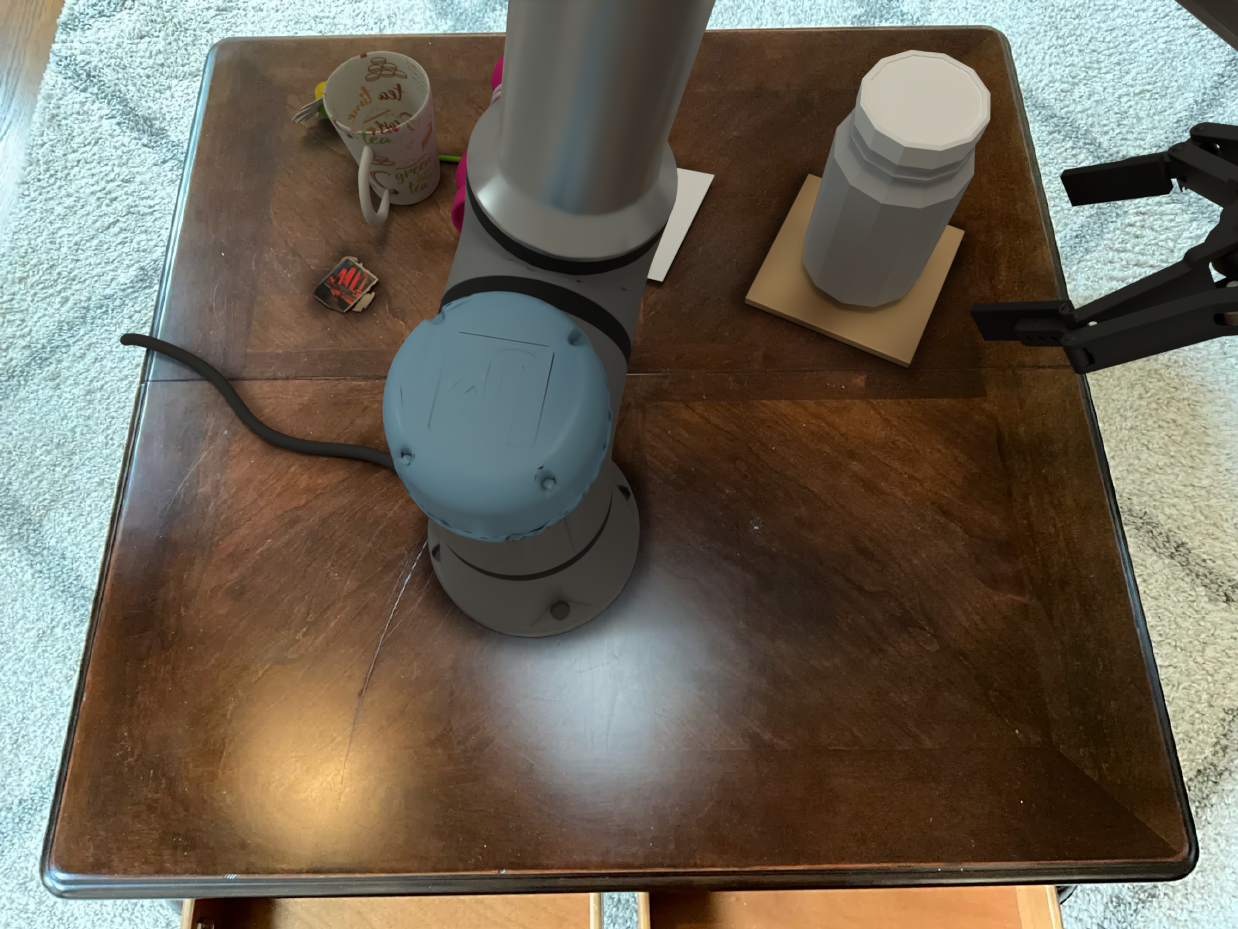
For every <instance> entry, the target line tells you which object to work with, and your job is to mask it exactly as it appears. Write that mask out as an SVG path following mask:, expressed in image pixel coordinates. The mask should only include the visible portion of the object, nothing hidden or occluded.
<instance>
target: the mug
mask: <svg viewBox="0 0 1238 929" xmlns="http://www.w3.org/2000/svg"><path fill="white" fill-rule="evenodd" d="M326 81H327V82H326V84H325V87H324V91H323V103H324V107H325V110H326V113H327V115H328V117H329V118H330V122H331V124H332V125H333V127H334V128H335V130H336V132H337V133H338V135H339V137H340V138H341V140H342V141H343V143H344V144H345V146H346V148H347V149H348V151H349V152H350V154H351V156H352V158H353V159H354V161H355V162H356V164H357V165H358V167H359V168H358V175H357V178H358V179H357V182H358V196H359V202H360V207H361V211H362V215H363V218H364V220H365V221H366V222H367V224H368V225H369V226H370V227H371V228H374V229H378V228H380V227H381V226H382V225H383V224H384V223H385V222H386V221H387V219H388V217H389V211H390V204H392V205H398V206H409V205H413V204H417V203H420V202H422V201H424V200H425V199H427V198H429V197H430V196H431V195H432V194H433V193H434V192H435V190H436V189H437V187H438V185H439V184H440V179H441V166H440V165H441V164H440V160H439V155H440V154H439V147H438V137H437V129H436V119H435V118H436V117H435V111H434V110H435V109H434V101H433V92H432V86H431V82H430V78H429V76H428V74H427V72H426V70H425V69H424V67H422V66H421V64H420V63H418V61H416V60H415V59H413V58H412V57H410V56H407V55H406V54H403V53H399V52H394V51H388V50H387V51H386V50H378V51H377V50H376V51H370V52H365V53H361V54H357V55H356V56H353V57H351V58H349V59H347V60H345V61H344V62H342V63H341V64H340V65H338V67H336V68H335V69H334V71H332V72H331V74H330V75H329V77H328V78H327V79H326ZM370 187H372V190H373V191H374V192H375V194H377V196H378V197H379V198H380V199H381V201H380V205H379V207H378V210H377V212H376V211H375V210H374V207H373V204H372V199H371V190H370Z"/></svg>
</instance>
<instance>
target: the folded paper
mask: <svg viewBox="0 0 1238 929" xmlns="http://www.w3.org/2000/svg"><path fill="white" fill-rule="evenodd" d="M677 174H678V188H677V196H676V201H675V204H674V207H673V210H672V212H671V214H670V217H669V220H668V223H667V225H666V228H665V231H664V233H663V236H662V238H661V241H660V243H659V246H658V248H657V251H656V253H655V256H654V259H653V261H652V264H651V267H650V270H649V274H648V277H647V279H651V280H655V281H658V282H663V281H664V279H665V277H666V275H667V273H668V271H669V269H670V267H671V265H672V263H673V261H674V259H675V256H676V254H678V251H679V248H680V246H681V244H682V242H683V241H684V239H685V237H686V235H687V233H688V230H689V228H690V227H691V225H692V223H693V220H694V218H695V217H696V214H697V212H698V210H699V208H700V206H701V204H702V202H703V200H704V198H705V196H706V194H707V192H708V190H709V189H710V188H709V187H710V186H711V184H712V182H713V179H714V177H715V174H711V173H706V172H701V171H696V170H690V169H685V168H680V167H677Z"/></svg>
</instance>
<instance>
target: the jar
mask: <svg viewBox="0 0 1238 929" xmlns="http://www.w3.org/2000/svg"><path fill="white" fill-rule="evenodd" d="M990 121H991V92H990V91H989V89H988V88H987V86H986V85H985V84H984V82H983V81H982V80H981V78H980V77H979V75H978V74H977V72H976V70H975V69H974V68H972V67H970V66H968V65H966V64H964V63H963V62H961V61H959V60H957V59H955V58H953V57H952V56H950V55H947V53H940V52H932V51H923V50H915V49H910V50H905V51H903V52H900V53H896V54H893V55H890V56H886V57H882V58H880V59H879V60H878V62H877V63H876V64H874V66H873V67H872V68H871V69H870V70H869V71H868V72H867V73H866V74H865V75H864V77H862V79H861V82H860V86H859V88H858V92H857V95H856V100H855V106H854V108H852V110H851V112H850V113H849V114H848V115H847V116H846V117H845V118H844V119H843V120H842V122H840V124H839V125H837V127H836V129H835V133H834V136H833V140H832V143H831V146H830V150H829V153H828V157H827V160H826V163H825V166H824V169H823V172H822V177H821V178H822V180H821V183H820V186H819V190H818V193H817V197H816V200H815V203H814V207H813V210H812V214H811V217H810V220H809V224H808V227H807V230H806V234H805V240H804V249H803V259H802V261H803V263H804V265H805V267H806V269H807V271H808V273H809V274H810V276H811V278H812V280H813V282H814V284H815V285H816V286H817V287H818V288H820V289H821V290H823V291H825V292H826V293H828V294H829V295H831V296H832V297H834V298H835V299H837V300H838V301H840V302H842V303H847V304H855V305H862V306H869V307H876V306H879V305H882V304H885V303H888V302H891V301H894V300H897V299H900V298H902V297H904V295H905V294H906V293H907V292H908V290H909V289H910V288H911V287H912V286H913V284H914V283H915V282H916V281H917V280H918V278H919V277H920V276H921V274H922V272H923V270H924V268H925V266H926V264H927V262H928V260H929V258H930V257H931V255H932V253H933V251H934V249H935V247H936V245H937V243H938V241H939V240H940V238H941V236H942V234H943V232H944V230H945V228H946V226H947V225H949V222H950V220H951V218H952V216H953V215H954V213H955V211H956V210H957V207H958V206H959V204H960V201H961V200H962V198H963V196H964V194H965V192H966V190H967V188H968V187H969V184H970V183H971V181H972V179H973V177H974V176H975V159H976V158H975V156H976V155H975V154H976V152H975V151H976V145H977V144H978V142H979V141H980V140H981V138H982V136H983V134H984V132H985V131H986V129H987V127H988V125H989V123H990Z"/></svg>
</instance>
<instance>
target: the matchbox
mask: <svg viewBox="0 0 1238 929" xmlns="http://www.w3.org/2000/svg"><path fill="white" fill-rule="evenodd" d="M377 281H379V278H377V275H374V274H373V273H371V271H369V269H366V268H365V267H364V266H363V262H360V263H359V262H358V258H357V257H355V256H352V255H347V254H346V256H344V257H343V258H341V260H340V261H339V262H338V264H335V265H334V267H333V268H332V269H331V270H330V272H329V273H327V275H326V276H323V277H322V278H321V279H320V281H319V283H318V285H317V286H316V288H315V290H314V292H313V293H312V295H313V296H314V297H315V298H316V299H317V300H318V301H320V302H322V305H323V304H324V305H325V306H327V307H328V308H331V309H333V310H336V311H339V312H340V313H346V311H348V310H349V309H350V310H351V311H354V312H362V311H363V309H364V310H366V309H367V307H369V304H370V303H371V302H372V300H373V299H374V297H375V295H376V293H375V291H371V294H370V293H367V292H369V291H370V290H371V288H372V287H373V286H374V285H376V283H377ZM355 303H356V304H355ZM354 305H355V306H354ZM353 306H354V307H353ZM352 307H353V308H352Z"/></svg>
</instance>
